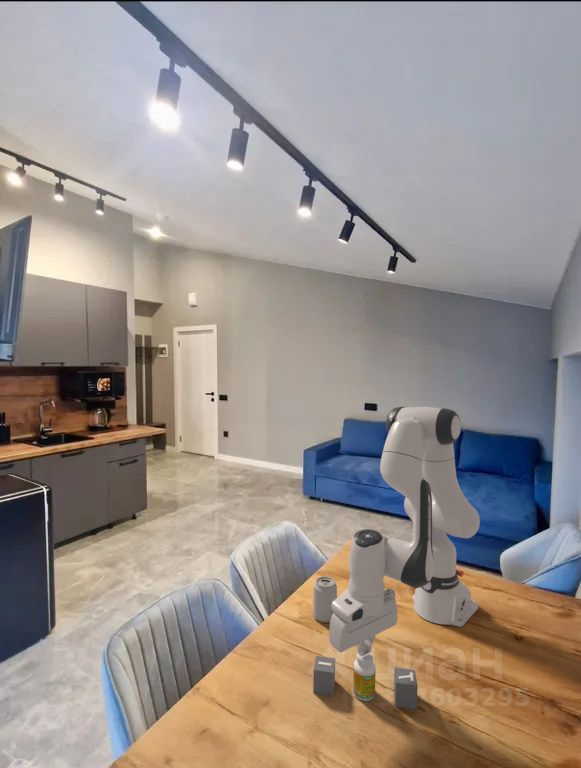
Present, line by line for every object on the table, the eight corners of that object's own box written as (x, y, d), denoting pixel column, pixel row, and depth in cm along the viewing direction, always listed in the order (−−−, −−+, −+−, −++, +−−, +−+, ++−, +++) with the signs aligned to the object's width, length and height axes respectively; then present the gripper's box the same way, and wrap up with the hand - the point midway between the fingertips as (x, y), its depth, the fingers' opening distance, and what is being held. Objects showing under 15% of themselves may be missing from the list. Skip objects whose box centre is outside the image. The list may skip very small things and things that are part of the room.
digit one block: (315, 677, 107) (316, 655, 106) (334, 680, 106) (335, 657, 105) (313, 692, 102) (313, 669, 101) (333, 696, 101) (333, 672, 100)
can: (336, 610, 135) (337, 575, 135) (336, 625, 128) (337, 587, 127) (313, 609, 136) (314, 574, 135) (312, 623, 129) (313, 586, 128)
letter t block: (393, 690, 103) (394, 666, 103) (414, 693, 102) (415, 669, 102) (395, 706, 98) (395, 682, 98) (416, 709, 97) (417, 685, 97)
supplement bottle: (361, 705, 98) (362, 666, 98) (348, 688, 103) (349, 651, 102) (379, 696, 101) (380, 658, 100) (365, 681, 105) (366, 645, 105)
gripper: (385, 580, 109) (384, 631, 110) (326, 605, 97) (324, 661, 98) (404, 592, 104) (402, 644, 104) (343, 619, 92) (342, 678, 93)
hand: (364, 652), depth 101 cm, fingers closed
